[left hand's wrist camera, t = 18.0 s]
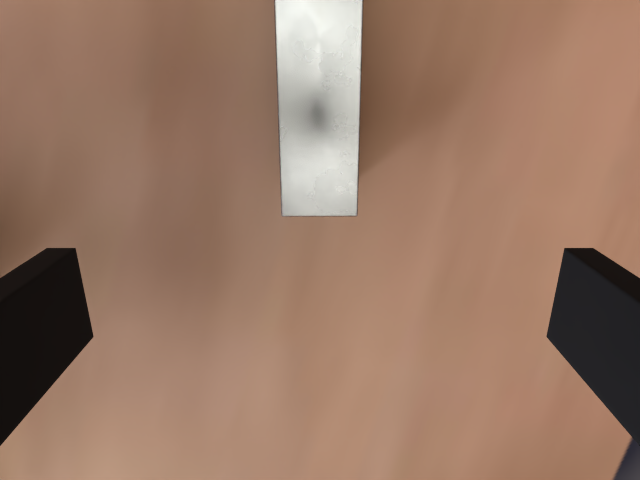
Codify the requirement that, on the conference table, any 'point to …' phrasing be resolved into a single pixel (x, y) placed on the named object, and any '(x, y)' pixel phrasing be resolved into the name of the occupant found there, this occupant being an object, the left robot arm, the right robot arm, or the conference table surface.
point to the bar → (319, 105)
